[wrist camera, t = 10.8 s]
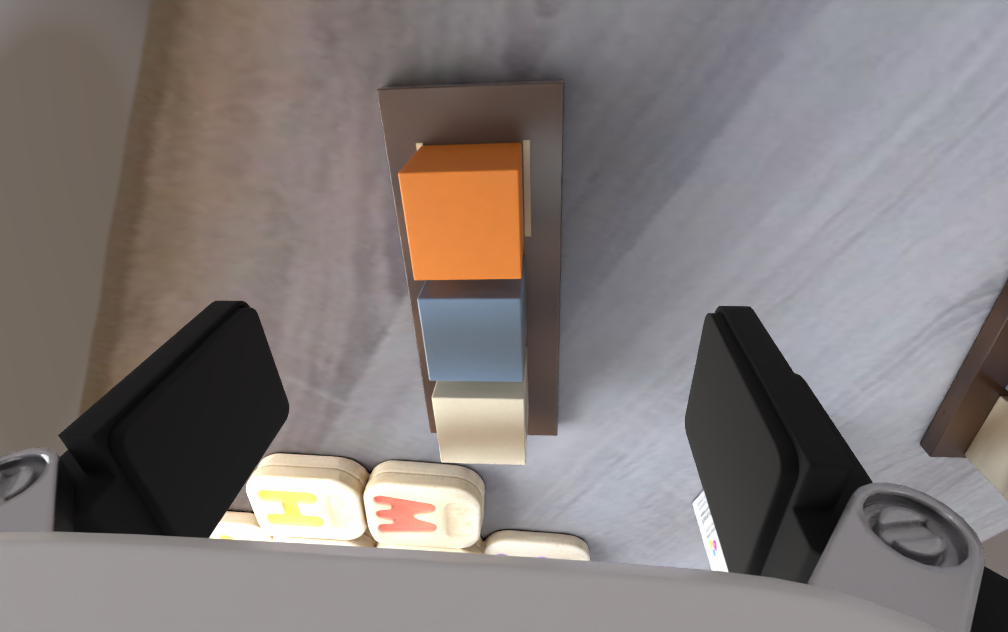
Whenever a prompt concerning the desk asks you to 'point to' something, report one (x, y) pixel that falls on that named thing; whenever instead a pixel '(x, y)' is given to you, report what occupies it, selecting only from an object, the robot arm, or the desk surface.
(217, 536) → the alphabet tiles
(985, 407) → the colored cube rack
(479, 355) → the tray of colored blocks
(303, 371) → the desk surface
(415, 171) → the orange cube
